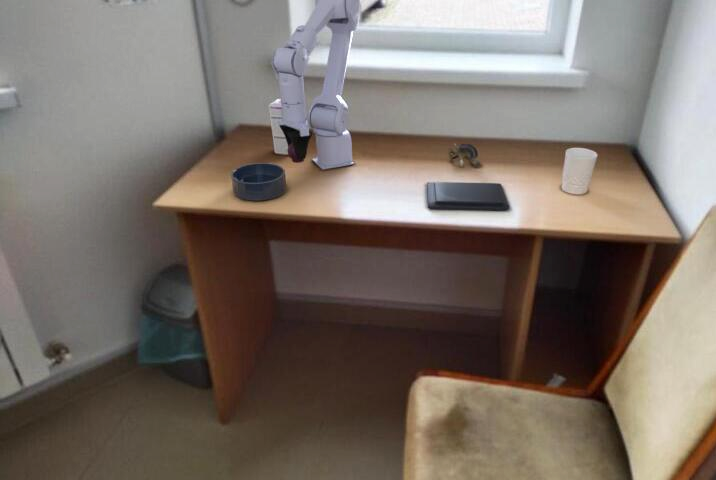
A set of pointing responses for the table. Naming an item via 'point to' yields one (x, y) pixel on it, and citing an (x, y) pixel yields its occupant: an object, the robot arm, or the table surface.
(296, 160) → the plum
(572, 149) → the white cup
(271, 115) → the syrup box
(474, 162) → the chipmunk toy
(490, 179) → the table surface
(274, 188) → the bowl
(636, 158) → the table surface
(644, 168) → the table surface
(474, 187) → the wallet
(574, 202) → the table surface
